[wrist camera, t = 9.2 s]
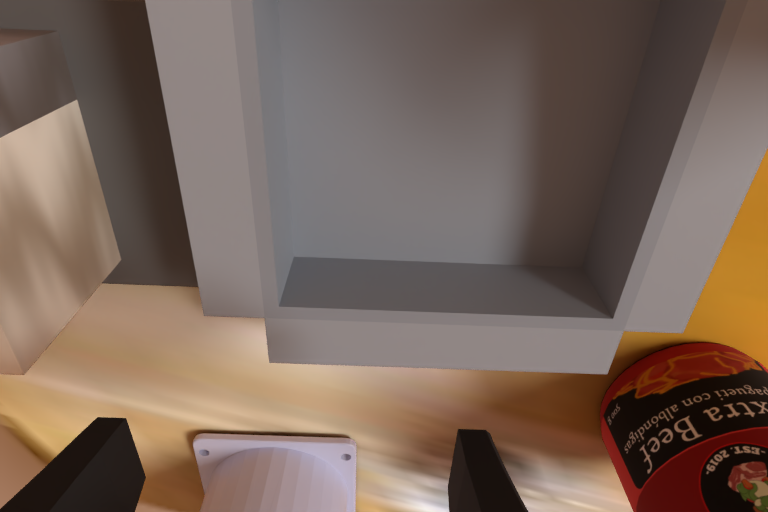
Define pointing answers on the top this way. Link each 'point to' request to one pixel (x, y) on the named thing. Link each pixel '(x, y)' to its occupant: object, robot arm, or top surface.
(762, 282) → the top surface
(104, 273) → the maple block
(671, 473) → the canned food
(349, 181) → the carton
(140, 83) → the rubber mat
